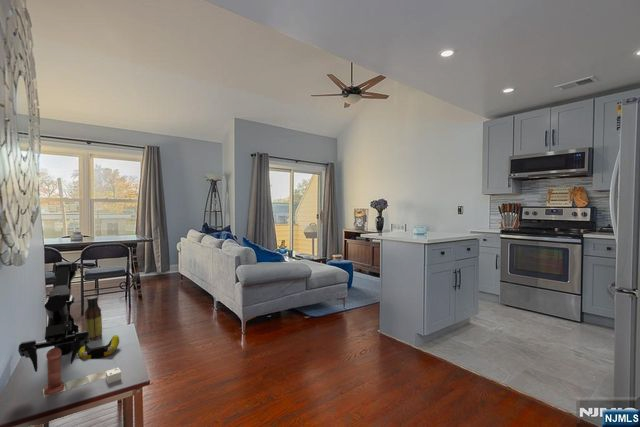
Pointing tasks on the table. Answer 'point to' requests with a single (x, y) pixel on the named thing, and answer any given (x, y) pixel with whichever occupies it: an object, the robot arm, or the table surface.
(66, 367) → the table surface
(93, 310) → the sauce bottle
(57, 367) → the pawn
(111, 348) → the gaming controller
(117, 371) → the die
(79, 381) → the game board
